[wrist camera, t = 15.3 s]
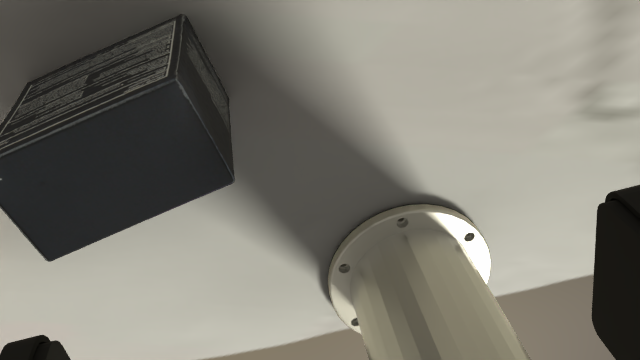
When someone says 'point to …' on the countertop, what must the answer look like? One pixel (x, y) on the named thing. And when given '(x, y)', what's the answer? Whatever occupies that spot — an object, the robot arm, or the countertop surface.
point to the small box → (115, 140)
